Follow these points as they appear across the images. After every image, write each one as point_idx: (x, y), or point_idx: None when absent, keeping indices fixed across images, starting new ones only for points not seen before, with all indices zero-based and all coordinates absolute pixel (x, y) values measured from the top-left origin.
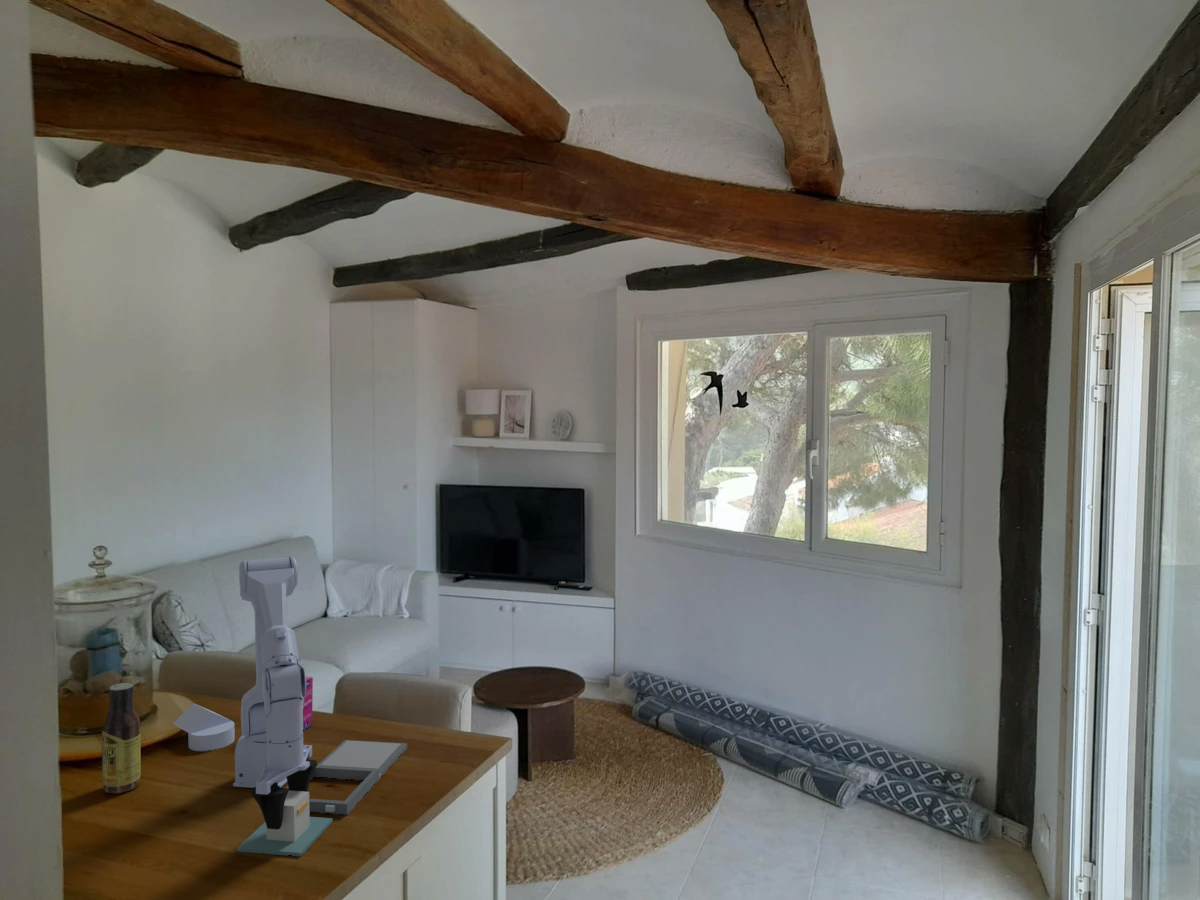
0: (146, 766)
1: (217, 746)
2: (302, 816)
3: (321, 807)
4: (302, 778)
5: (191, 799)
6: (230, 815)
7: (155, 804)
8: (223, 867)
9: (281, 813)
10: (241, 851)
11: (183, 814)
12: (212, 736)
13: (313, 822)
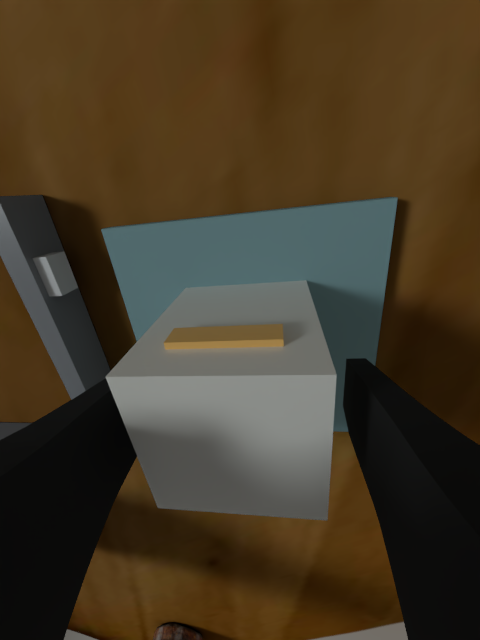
0: (116, 627)
1: None
2: (229, 314)
3: (69, 312)
4: (35, 498)
5: (170, 566)
6: None
7: (206, 595)
8: (456, 416)
9: (406, 406)
10: None
11: (222, 560)
12: None
13: (157, 288)
